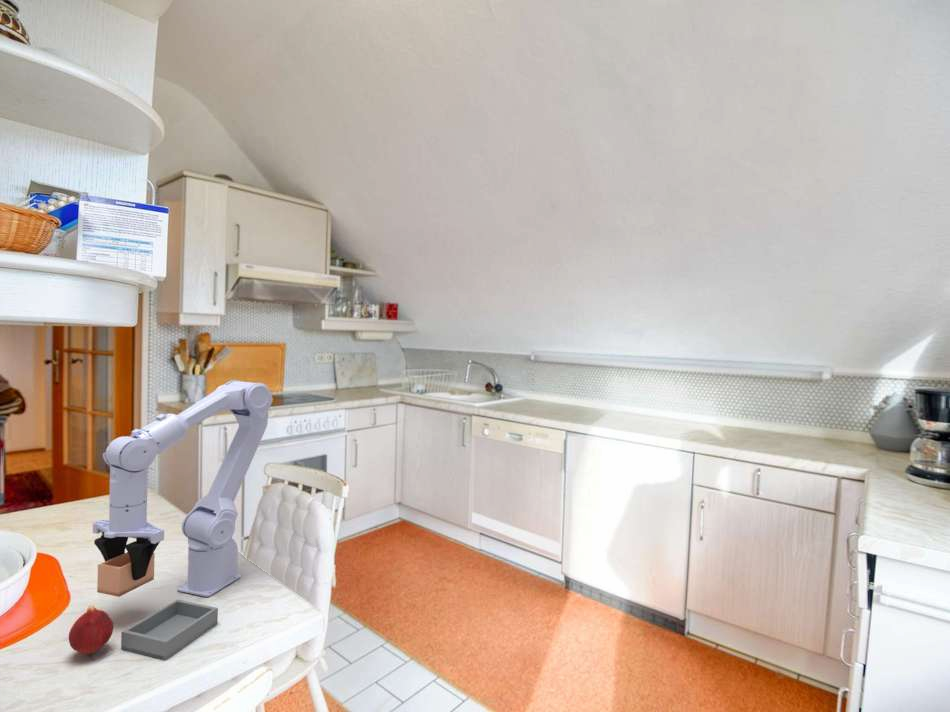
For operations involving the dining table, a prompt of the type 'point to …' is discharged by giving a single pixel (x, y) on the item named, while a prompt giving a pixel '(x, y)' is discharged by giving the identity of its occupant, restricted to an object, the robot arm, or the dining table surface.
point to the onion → (91, 631)
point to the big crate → (169, 629)
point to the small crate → (121, 576)
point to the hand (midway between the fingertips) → (127, 575)
